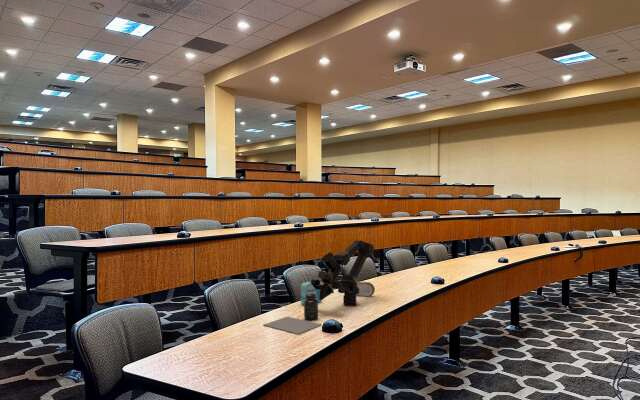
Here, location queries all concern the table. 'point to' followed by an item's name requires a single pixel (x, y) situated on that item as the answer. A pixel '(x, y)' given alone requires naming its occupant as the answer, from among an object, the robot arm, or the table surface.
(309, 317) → the supplement bottle
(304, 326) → the mat
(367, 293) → the beige rounded slab
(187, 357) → the table surface
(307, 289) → the data package
